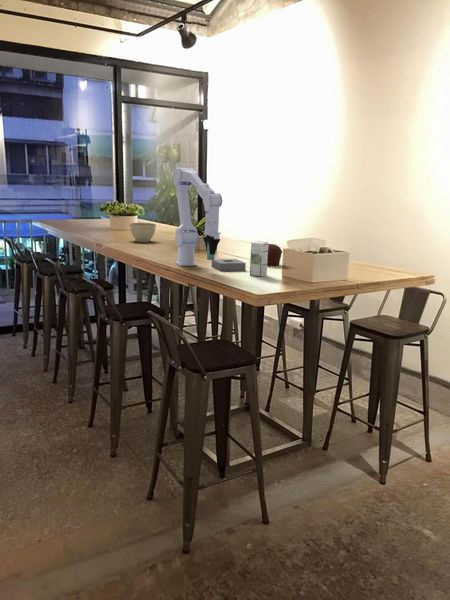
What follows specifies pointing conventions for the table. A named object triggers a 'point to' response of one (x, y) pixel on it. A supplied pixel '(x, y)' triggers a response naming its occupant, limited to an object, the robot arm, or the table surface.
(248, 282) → the table surface
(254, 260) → the syrup box
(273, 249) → the muffin
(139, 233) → the planter bowl
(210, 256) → the pin
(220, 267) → the socket block
